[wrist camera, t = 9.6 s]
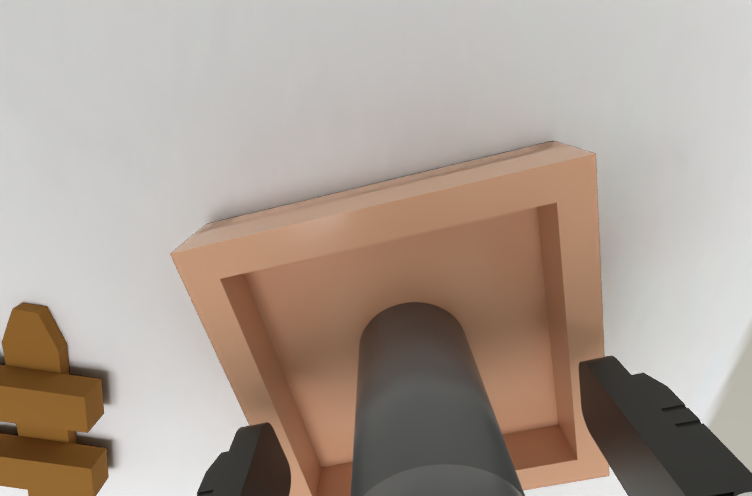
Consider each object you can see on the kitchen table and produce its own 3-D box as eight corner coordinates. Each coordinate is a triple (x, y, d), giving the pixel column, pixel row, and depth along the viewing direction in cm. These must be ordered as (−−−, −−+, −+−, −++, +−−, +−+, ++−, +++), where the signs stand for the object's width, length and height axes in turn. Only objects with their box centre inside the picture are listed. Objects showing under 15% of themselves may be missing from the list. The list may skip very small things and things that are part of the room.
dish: (206, 223, 13) (169, 253, 11) (553, 140, 12) (595, 153, 10) (308, 467, 17) (297, 528, 15) (575, 419, 16) (609, 475, 14)
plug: (346, 315, 13) (312, 597, 6) (457, 291, 13) (566, 558, 6) (373, 401, 14) (372, 720, 7) (474, 381, 14) (580, 693, 7)
